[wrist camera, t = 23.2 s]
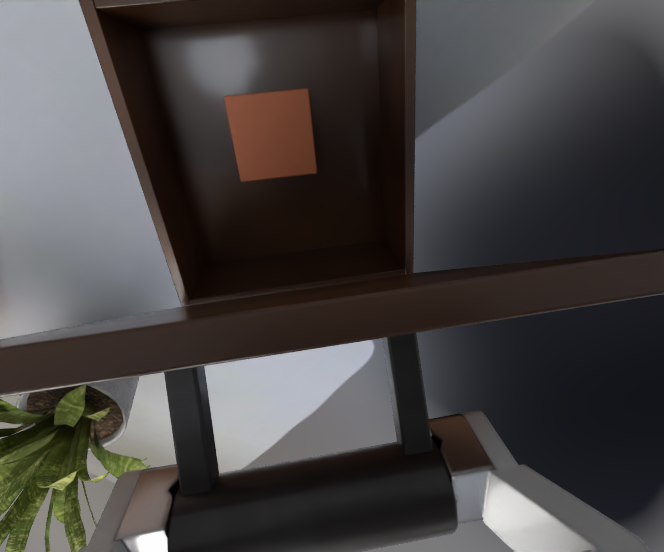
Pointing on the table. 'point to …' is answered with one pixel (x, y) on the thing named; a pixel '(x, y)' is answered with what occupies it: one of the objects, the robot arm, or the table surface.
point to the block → (272, 134)
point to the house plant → (59, 454)
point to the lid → (302, 334)
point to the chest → (217, 146)
